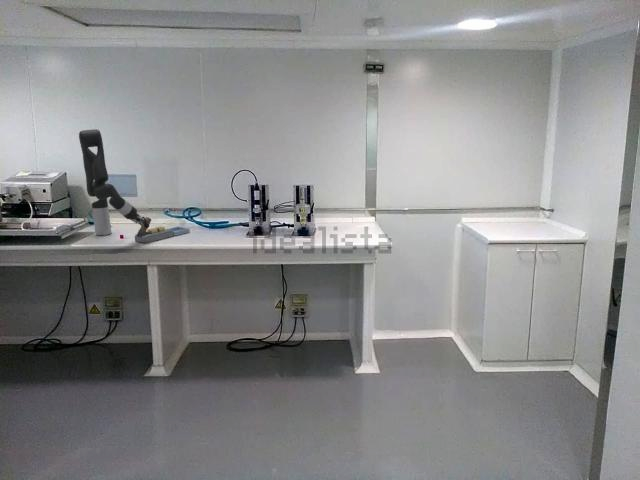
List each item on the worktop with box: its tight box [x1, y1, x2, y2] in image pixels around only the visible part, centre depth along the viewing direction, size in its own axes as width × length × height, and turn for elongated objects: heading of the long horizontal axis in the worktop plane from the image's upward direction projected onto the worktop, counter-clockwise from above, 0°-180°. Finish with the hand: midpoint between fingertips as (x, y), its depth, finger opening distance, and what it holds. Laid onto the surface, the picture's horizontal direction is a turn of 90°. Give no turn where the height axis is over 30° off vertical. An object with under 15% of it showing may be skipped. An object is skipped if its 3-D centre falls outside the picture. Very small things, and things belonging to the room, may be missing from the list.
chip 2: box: [154, 226, 166, 232], centre depth 298 cm, size 4×4×3 cm
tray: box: [165, 226, 190, 237], centre depth 308 cm, size 12×11×2 cm
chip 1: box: [146, 227, 157, 234], centre depth 293 cm, size 4×4×3 cm
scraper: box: [136, 216, 152, 236], centre depth 288 cm, size 2×4×11 cm
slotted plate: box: [134, 228, 174, 244], centre depth 295 cm, size 20×10×4 cm, turn 146°
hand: (146, 226), depth 289 cm, fingers closed on scraper, 2 cm apart
